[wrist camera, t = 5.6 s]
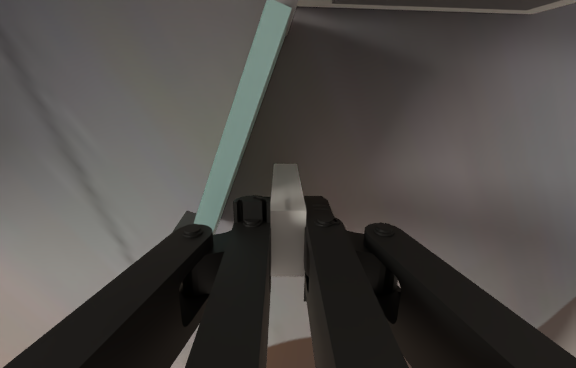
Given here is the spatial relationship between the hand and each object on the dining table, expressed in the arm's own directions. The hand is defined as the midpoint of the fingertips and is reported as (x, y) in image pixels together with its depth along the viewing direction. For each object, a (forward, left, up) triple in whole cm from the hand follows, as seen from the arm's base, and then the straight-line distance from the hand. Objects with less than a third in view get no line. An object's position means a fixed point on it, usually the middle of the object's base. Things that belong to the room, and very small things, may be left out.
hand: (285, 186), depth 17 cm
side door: (-3, +3, -2) cm, 5 cm away
